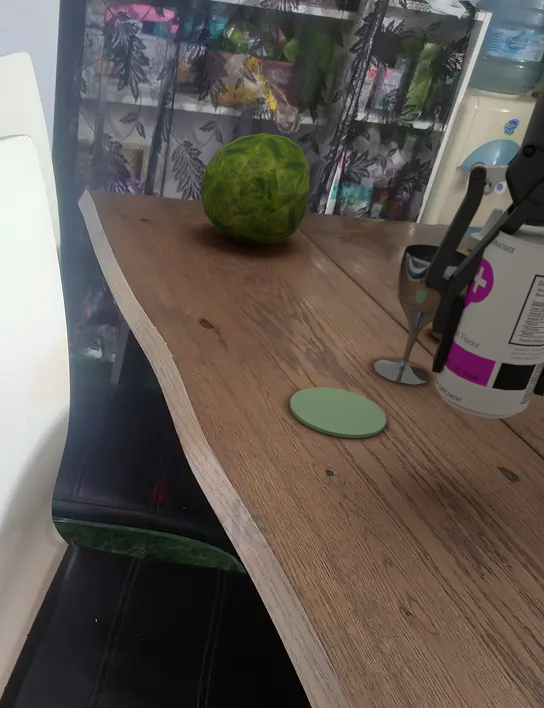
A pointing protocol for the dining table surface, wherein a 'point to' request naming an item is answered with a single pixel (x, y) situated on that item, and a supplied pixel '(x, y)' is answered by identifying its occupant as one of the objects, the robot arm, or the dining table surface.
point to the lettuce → (257, 189)
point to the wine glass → (415, 309)
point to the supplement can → (499, 330)
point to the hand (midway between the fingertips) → (486, 377)
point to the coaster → (337, 412)
